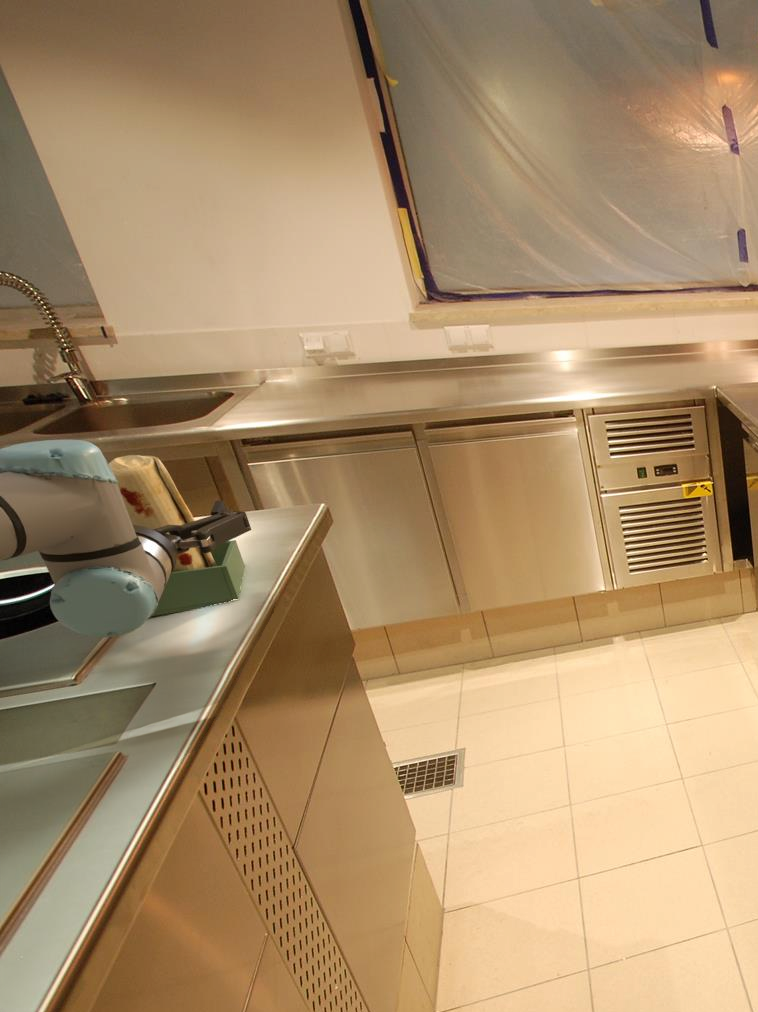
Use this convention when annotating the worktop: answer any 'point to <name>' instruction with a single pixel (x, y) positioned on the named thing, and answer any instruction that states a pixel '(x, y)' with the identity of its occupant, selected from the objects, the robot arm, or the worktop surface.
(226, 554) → the bin
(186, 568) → the food model
